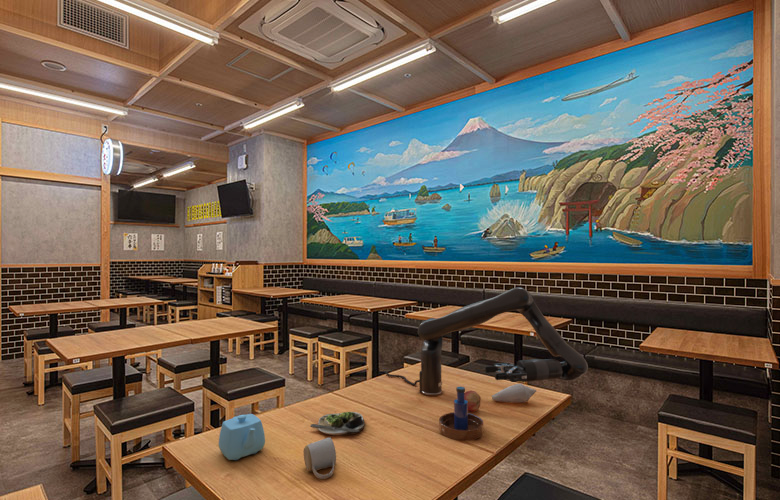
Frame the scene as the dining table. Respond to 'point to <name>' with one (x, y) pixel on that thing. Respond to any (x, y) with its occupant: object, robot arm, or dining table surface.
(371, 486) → the dining table surface
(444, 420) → the bowl
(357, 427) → the salad plate
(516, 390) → the seashell
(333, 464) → the ceramic mug
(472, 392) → the fruit
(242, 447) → the teapot
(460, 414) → the soy bottle
